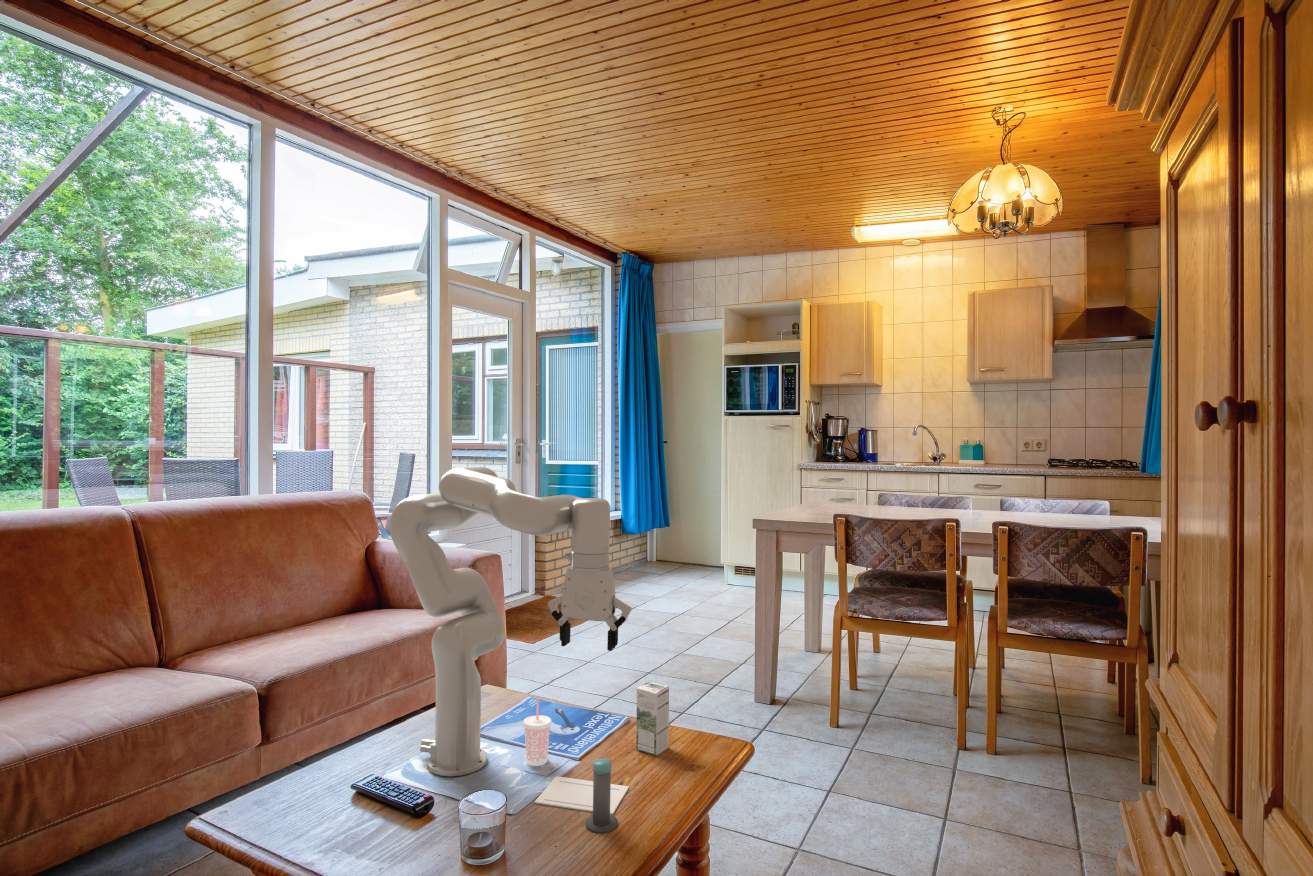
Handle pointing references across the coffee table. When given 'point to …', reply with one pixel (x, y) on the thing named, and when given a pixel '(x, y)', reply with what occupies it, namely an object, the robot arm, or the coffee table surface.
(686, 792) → the coffee table surface
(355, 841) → the coffee table surface
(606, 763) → the marker
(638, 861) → the coffee table surface
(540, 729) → the beverage cup
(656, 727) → the syrup box
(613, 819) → the coaster
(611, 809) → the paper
